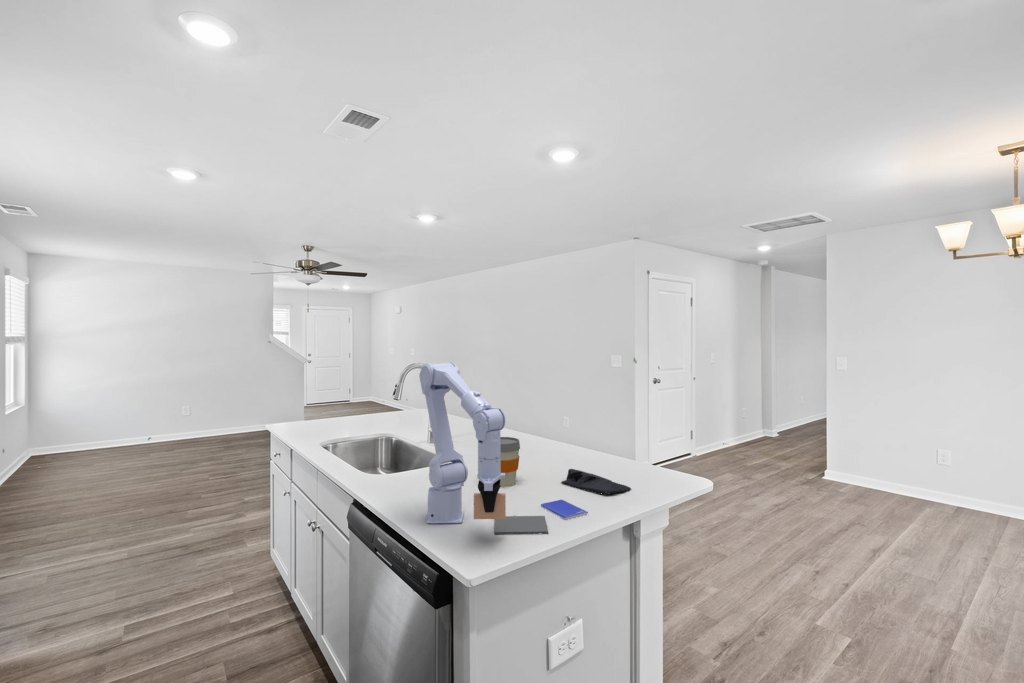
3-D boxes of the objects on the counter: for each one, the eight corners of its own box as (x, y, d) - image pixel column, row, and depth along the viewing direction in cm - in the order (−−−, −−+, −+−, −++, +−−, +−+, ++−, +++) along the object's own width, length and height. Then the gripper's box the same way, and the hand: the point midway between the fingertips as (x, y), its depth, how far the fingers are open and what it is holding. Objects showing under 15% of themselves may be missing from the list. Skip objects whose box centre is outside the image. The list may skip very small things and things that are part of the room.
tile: (473, 519, 119) (473, 495, 119) (474, 516, 121) (474, 493, 121) (505, 519, 119) (505, 495, 119) (505, 516, 121) (505, 493, 121)
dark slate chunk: (603, 500, 149) (603, 485, 149) (557, 483, 167) (557, 470, 167) (635, 491, 158) (635, 477, 158) (588, 476, 176) (588, 463, 176)
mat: (494, 534, 123) (494, 532, 123) (495, 518, 134) (494, 516, 134) (548, 533, 123) (548, 531, 123) (544, 517, 134) (544, 515, 134)
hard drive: (588, 511, 136) (562, 499, 147) (565, 516, 132) (540, 503, 143) (588, 516, 136) (562, 504, 147) (565, 522, 132) (540, 508, 143)
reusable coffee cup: (509, 490, 159) (508, 445, 158) (477, 485, 165) (477, 442, 165) (526, 480, 169) (526, 438, 169) (496, 476, 176) (496, 435, 176)
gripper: (505, 464, 113) (505, 521, 113) (505, 449, 127) (505, 500, 127) (475, 464, 113) (475, 521, 113) (478, 450, 127) (479, 500, 127)
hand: (489, 510), depth 120 cm, fingers closed on tile, 2 cm apart
